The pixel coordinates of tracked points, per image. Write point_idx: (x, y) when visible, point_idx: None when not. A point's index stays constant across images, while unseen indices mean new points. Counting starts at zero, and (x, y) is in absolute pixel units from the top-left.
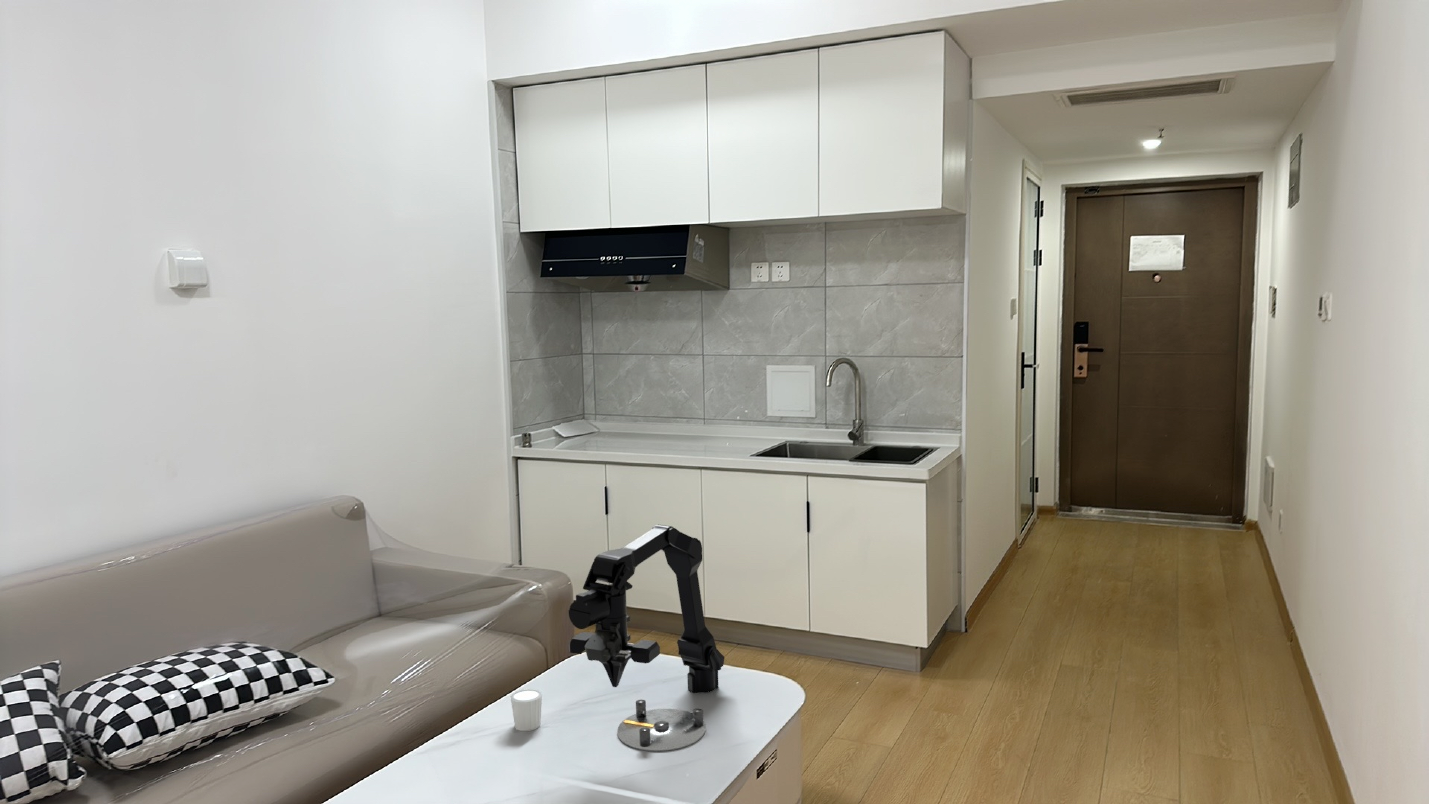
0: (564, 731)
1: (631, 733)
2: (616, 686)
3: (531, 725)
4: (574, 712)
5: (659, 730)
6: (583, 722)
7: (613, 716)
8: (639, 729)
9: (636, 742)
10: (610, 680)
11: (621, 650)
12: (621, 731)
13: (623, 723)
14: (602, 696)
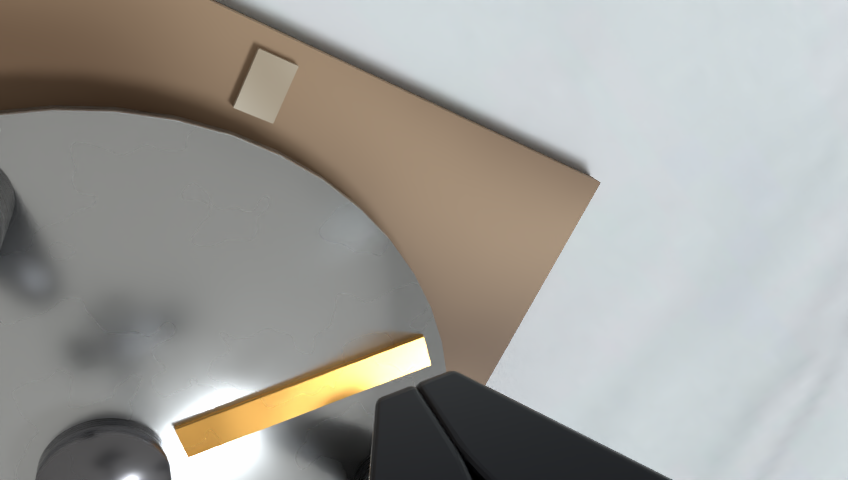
0: (739, 20)
1: (238, 260)
2: (377, 421)
3: None
4: (805, 251)
5: (69, 432)
6: (693, 197)
7: (572, 370)
8: (236, 344)
9: (62, 175)
10: (546, 427)
11: None
12: (336, 233)
13: (413, 326)
14: (756, 467)
